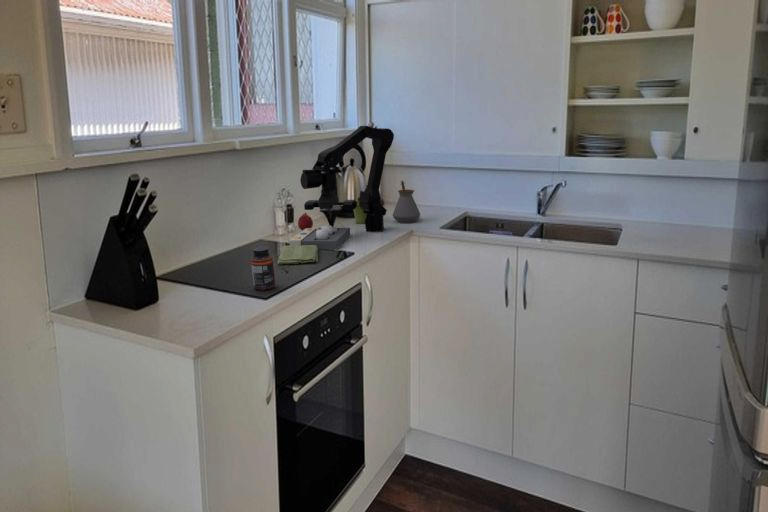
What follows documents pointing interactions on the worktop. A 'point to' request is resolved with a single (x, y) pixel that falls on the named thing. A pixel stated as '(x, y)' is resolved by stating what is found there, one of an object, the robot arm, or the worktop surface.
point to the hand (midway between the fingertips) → (332, 227)
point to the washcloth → (298, 254)
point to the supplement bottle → (262, 269)
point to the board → (332, 240)
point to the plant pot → (359, 214)
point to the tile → (301, 236)
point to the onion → (305, 221)
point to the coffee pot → (406, 207)
